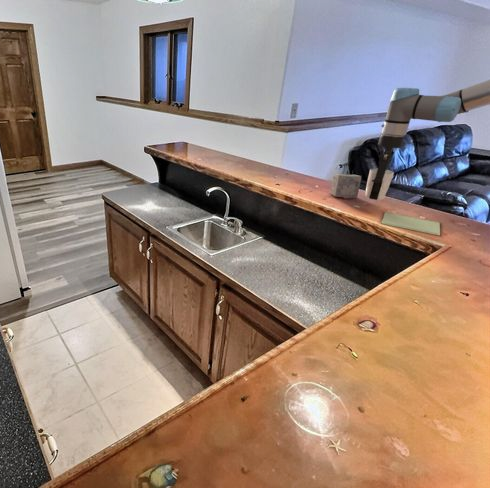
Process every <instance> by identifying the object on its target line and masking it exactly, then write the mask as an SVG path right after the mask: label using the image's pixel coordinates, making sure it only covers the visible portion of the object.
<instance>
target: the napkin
mask: <svg viewBox="0 0 490 488" xmlns="http://www.w3.org/2000/svg"><path fill="white" fill-rule="evenodd" d="M440 223H441V222H439V221H434V220H429V219H423V218H419V217H414V216H408V215H404V214H403V215H402V214H398V213H392V212H387V211H385V212H384V215H383V217H382V220H381V223H380V224H381V225H386V226H390V227H396V228H400V229H405V230H410V231H414V232H419V233H424V234H428V235H434V236H437V237H440V236H441V224H440Z"/></svg>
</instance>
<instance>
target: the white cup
mask: <svg viewBox="0 0 490 488" xmlns="http://www.w3.org/2000/svg"><path fill="white" fill-rule="evenodd" d="M377 170H378V168H370V169H369V173H368V176H367V181H366V186H365V193H364V197H366V198H369V197H370V193H371V190H372V187H373V183H374V182H372V180H374V179H375V177H376V173H377ZM394 175H395V172H394V171H392V170H391V169H390V170H389V169H387V170H386V171H385V174H384V177H383V182H382V186H381V189H380V192H379V195H378V199H377V200H384V199H385V198H386V195H387V192H388V190H389V187H390V185H391V182H392V180H393V178H394ZM377 179H379V178H377Z"/></svg>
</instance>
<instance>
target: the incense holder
mask: <svg viewBox="0 0 490 488" xmlns="http://www.w3.org/2000/svg"><path fill="white" fill-rule="evenodd" d="M361 181H362V175H357V174H344V173H336V172H335V173H333V176H332V183H331V188H330V191H329V195H332V196H333V197H335V198H336V197H337V198H343V199H344V200H347V199H348V198H352V199H358V196H359V192H360V187H361Z"/></svg>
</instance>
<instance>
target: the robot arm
mask: <svg viewBox="0 0 490 488" xmlns="http://www.w3.org/2000/svg"><path fill="white" fill-rule="evenodd" d="M488 105H489V106H490V79H488V80H485V81H481V82H479V83H476V84H473V85H470V86H467V87H464V88H462V89H459V90H455V91H453V92H450V93H447V94H444V95H424V94H420V88H418V87H417V88H416V87H396V88H395V89H394V90H393V93H392V95H391V98H390V100H389V104H388V108H387V112H386V116H385V119H384V123H383V124H381V126H380V127H381V128H382V129H381V135H380V136H379V139H378V143H377V145H378V146H380V147H382V148H383V147H384V149H383V150H381V152H380V157H379V160H378V167H377V169H378V170H377V173H376V177H375V179H374V180H372V182H374V183H373V187H372V190H371V193H370V197H368V199H370V200H373V201H375V200H376V201H378V200H379V199H378V195H379V192H380V189H381V186H382V182H383V177H384V174H385V171H386V170H388V167H389V166H390V163H391V162H392V159H393V157H394V155H395V151H394V149H400V148H402V147H403V145H404V141H405V136H406V135H407V132H408V129H409V126H410V122H411V120H422V121H431V122H437V123H452V122H453V121H455V119H456V117H457V116H458V115H459V114H460V115H461V114H463V113H466V112H470V111H472V110H476V109H478V108H479V109H480V108H482V107H486V106H488ZM377 178H379V179H377Z"/></svg>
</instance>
